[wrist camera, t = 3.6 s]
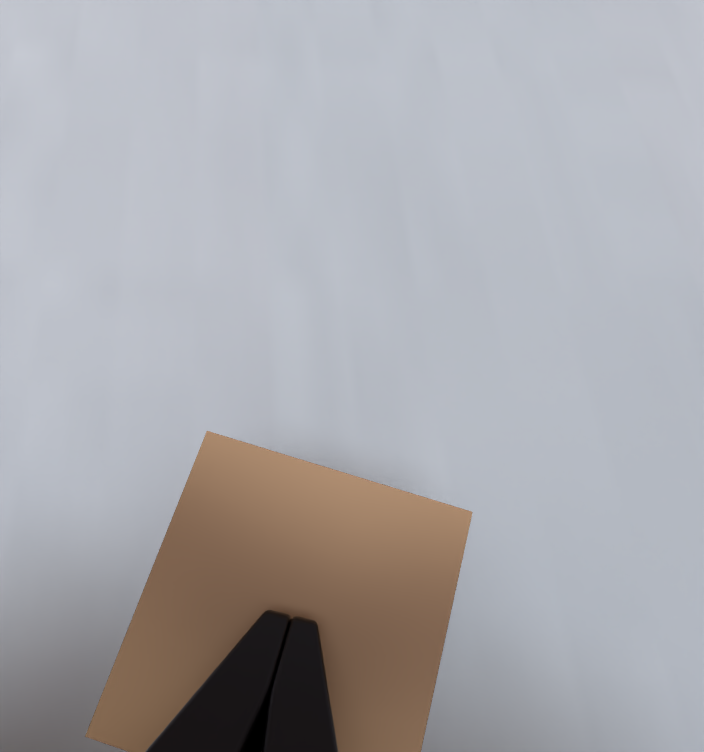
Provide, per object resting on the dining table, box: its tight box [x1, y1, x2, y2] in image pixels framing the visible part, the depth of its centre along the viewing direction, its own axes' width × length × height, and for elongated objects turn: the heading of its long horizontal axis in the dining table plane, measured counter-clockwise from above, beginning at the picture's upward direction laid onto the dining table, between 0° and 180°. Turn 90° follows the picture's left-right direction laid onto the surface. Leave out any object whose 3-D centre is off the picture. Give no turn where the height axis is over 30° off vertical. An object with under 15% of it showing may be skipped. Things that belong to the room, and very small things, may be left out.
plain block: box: [85, 431, 472, 752], centre depth 13 cm, size 5×5×8 cm
